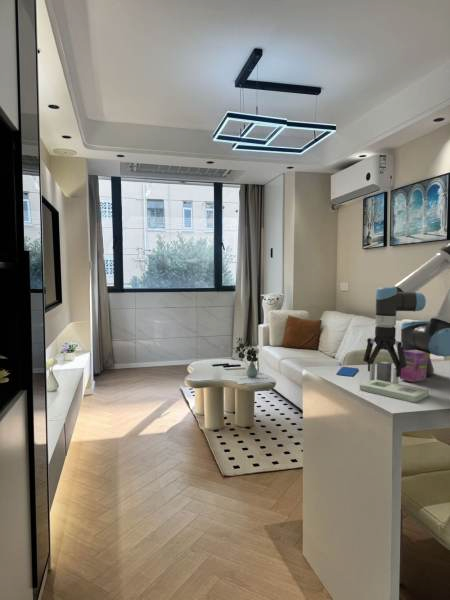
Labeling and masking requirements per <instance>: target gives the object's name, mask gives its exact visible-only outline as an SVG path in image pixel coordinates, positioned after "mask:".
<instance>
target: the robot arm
mask: <svg viewBox="0 0 450 600" xmlns="http://www.w3.org/2000/svg"><path fill="white" fill-rule="evenodd" d="M446 270H450V241H449V242H448V243H446V244H445V245H443V246H442V247H440V249H437V251H435V253H434V256H432V257H431V258H430V259H429V260H427V261H426V262H424V263H423V264H421V266H419V267H418V268H416V269H415V270H414V271H413V272H411V273H410V274H408V275H407V276H406V277H404V278H403V279H402V280H400V281H399V282H398V283H396V284H395V285H394V286H392V287H391V286H390V287H389V286H388V287H387V286H385V287H384V286H382V287H381V286H380V287H378V288H377V289H376V293H375V294H376V295H375V323H374V324H375V325H376V326H375V327H374V330H375V331H374V335H375V336H374V337H373V338H372V337H368V338H367V339H366V341H367V344H366V349H365V351H364V357H363V362H366V363H367V372H369V381H372V380H375V379H376V378H375V375H376V374H375V373H376V364H375V360H376V358H377V356H378V355H379V353H380V351H381V350H385V351H387V352H388V353H389V355H390V357H391V360H392V362H393V364H394V366H395V367H394V368H393V380H392V381H393V382H392V383H397V384H399V379H400V376H401V368H404V367H406V361H405V356H404V351H408V350H419V351H424V352H428V353H429V356H428V363H427V371H426V377H432V376H434V375H435V369H434V366H433V363H432V359H431V355H434V356H437V357H445V358H447V357H450V288H448V291H447V294H446V296H445V298H444V299H443V302H442V304H441V306H440V308H439V311H438V313H436V315H435V316H433V317H431V318H430V320H418V321H417V320H414V321H413V320H410V321H403V322H402V323H401V327H400V341H398V340H397V339H396V333H397V332H396V327H395V326H397V312H420V311H422V310H424V308H425V307H426V304H427V302H426V299H427V298H426V297H425V295H424V294H423V293H421V292H418V291H420V290H421V289H422V288H423V287H424V286H426V285H427V284H428V283H429V282H431V281H432V280H434V279H435V278H436V277H438V276H439V275H440V274H442V273H443V272H444V271H446ZM374 343H375V344H376V345H375V347H374V349H373V346H374ZM394 346H395V347H396V348H395V347H394ZM372 350H373V351H372ZM396 350H397V352H396Z"/></svg>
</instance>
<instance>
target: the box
mask: <svg viewBox="0 0 450 600" xmlns="http://www.w3.org/2000/svg"><path fill="white" fill-rule="evenodd" d="M404 356H405V361H406V367H404V368H401V376H400V377H399V380H403V381H407V382H410V383H415V382H422V381H426V378H427V376H426V371H427V363H428V356H429V353H428V352H424V351H419V350H408V351H404Z"/></svg>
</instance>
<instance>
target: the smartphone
mask: <svg viewBox="0 0 450 600" xmlns="http://www.w3.org/2000/svg"><path fill="white" fill-rule="evenodd" d="M358 371H359V368H358V367H349V366H348V367H347V366H342V367H340V369H339V370H338V371H337V372H336V373H335V375H336V376H343V377H353V378H354V376H355V375H356V374H357V372H358Z"/></svg>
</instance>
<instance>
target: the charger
mask: <svg viewBox="0 0 450 600" xmlns="http://www.w3.org/2000/svg"><path fill="white" fill-rule="evenodd" d="M376 379H377V380H382V381H387V382H392V362H388V361H378V362H377V363H376Z"/></svg>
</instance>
